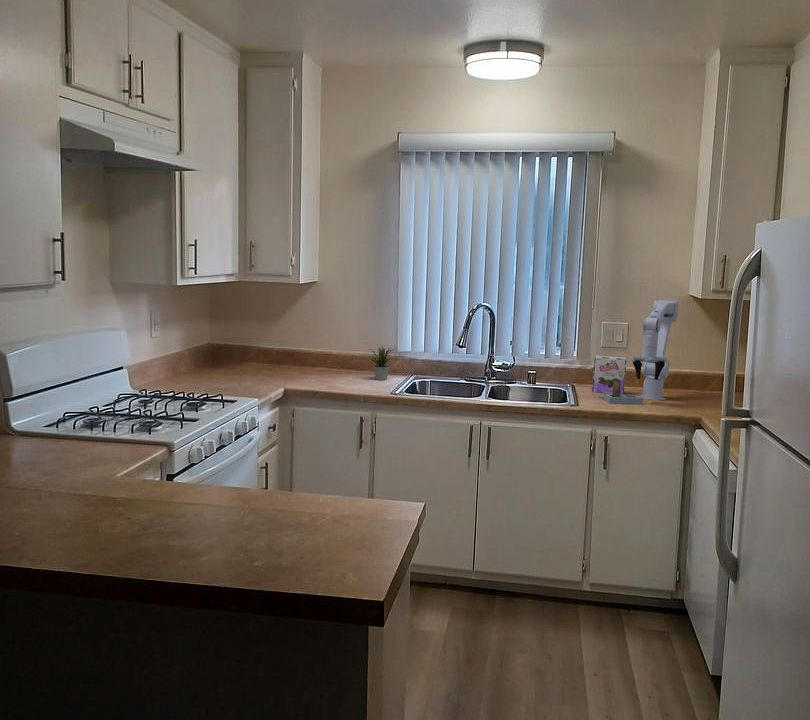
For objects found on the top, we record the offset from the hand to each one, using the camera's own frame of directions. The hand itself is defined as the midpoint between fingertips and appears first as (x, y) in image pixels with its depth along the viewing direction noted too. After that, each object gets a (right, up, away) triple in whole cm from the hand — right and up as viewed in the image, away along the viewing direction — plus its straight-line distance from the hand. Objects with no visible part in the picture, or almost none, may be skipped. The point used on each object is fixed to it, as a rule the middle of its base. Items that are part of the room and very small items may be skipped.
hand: (647, 379), depth 336 cm
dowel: (-13, -10, 0) cm, 17 cm away
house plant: (-111, -1, +38) cm, 117 cm away
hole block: (-10, -10, 0) cm, 14 cm away
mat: (-13, -9, +8) cm, 17 cm away
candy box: (-11, -7, +23) cm, 26 cm away
